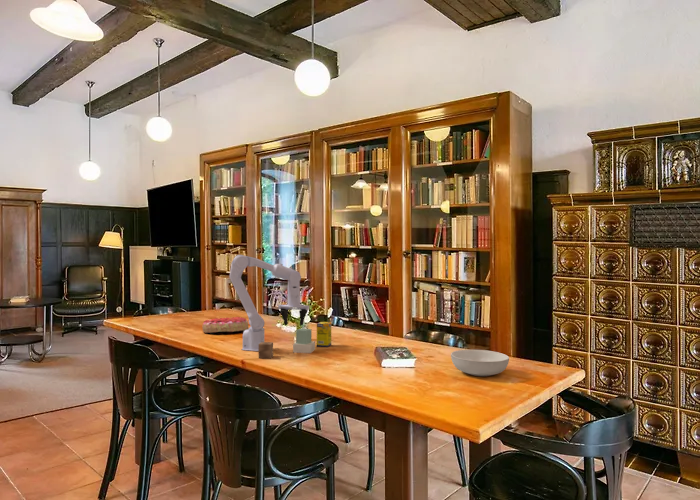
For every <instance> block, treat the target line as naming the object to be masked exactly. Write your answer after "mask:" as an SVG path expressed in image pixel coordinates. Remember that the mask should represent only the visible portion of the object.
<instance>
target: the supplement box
mask: <svg viewBox="0 0 700 500" xmlns="http://www.w3.org/2000/svg"><path fill="white" fill-rule="evenodd" d="M330 346H332V322H331V321H320V322H318V323H316V347H318V348H322V347H323V348H329V347H330Z"/></svg>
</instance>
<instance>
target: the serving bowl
mask: <svg viewBox="0 0 700 500" xmlns="http://www.w3.org/2000/svg"><path fill="white" fill-rule="evenodd" d="M450 357H451V362H452V364H453V365H454V367H455V368H456V369H457V370H459V371H461V372H463V373H465V374H468V375H471V376H476V377H489V376H494V375H498V374H501V373H502V372H504V371H505V370H506V369H507V367H508V365H509V361H510V357H509V356H508V355H507V354H504V353H501V352H498V351H492V350H487V349H459V350H455V351H452V352H451V353H450Z"/></svg>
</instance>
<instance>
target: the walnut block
mask: <svg viewBox="0 0 700 500" xmlns="http://www.w3.org/2000/svg"><path fill="white" fill-rule="evenodd" d="M273 357H274V342H273V341H270V342H269V341H264V342H261V343H260V344H259V351H258V359H262V360H264V359H268V360H269V359H272V358H273Z"/></svg>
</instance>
